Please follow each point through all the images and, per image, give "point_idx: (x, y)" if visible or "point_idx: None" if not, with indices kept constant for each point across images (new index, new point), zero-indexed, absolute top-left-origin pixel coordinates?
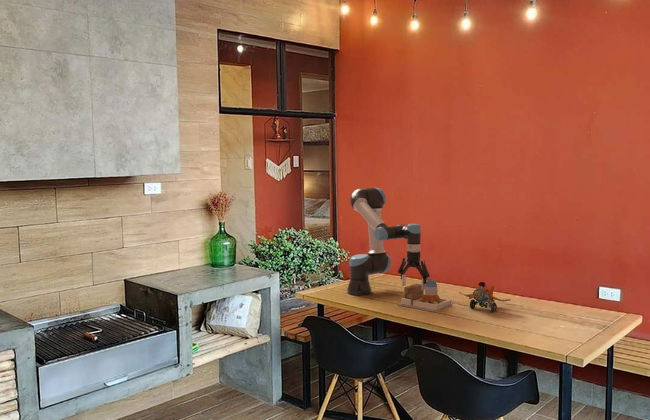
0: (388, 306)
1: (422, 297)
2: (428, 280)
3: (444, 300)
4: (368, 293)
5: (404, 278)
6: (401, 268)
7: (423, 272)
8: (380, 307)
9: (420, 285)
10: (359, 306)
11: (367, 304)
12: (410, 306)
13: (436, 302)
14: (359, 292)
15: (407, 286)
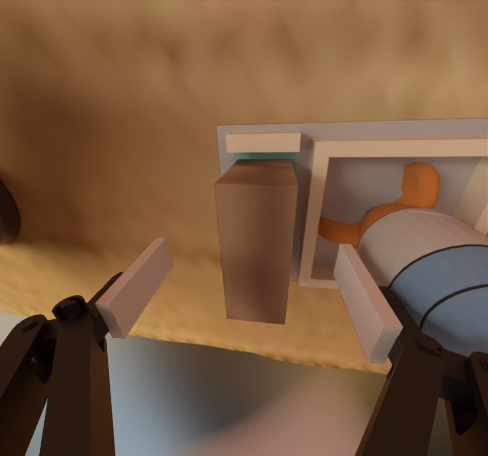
0: (213, 298)
1: (326, 239)
2: (458, 350)
3: (467, 155)
4: (9, 201)
5: (140, 287)
6: (37, 413)
7: (423, 432)
8: (203, 316)
9: (290, 227)
10: (151, 331)
11: (146, 308)
12: (290, 277)
13: (387, 158)
14: (4, 239)
15: (229, 297)
